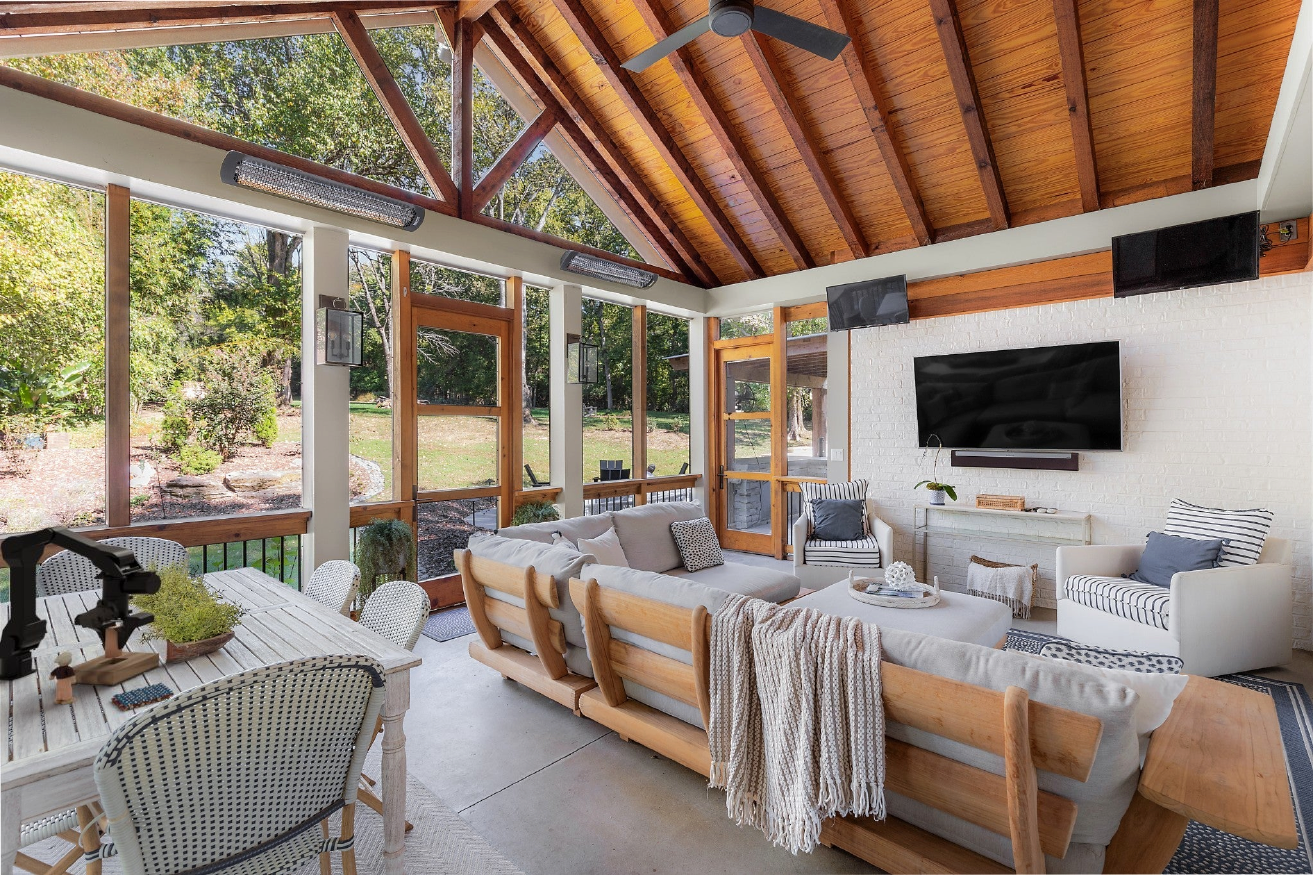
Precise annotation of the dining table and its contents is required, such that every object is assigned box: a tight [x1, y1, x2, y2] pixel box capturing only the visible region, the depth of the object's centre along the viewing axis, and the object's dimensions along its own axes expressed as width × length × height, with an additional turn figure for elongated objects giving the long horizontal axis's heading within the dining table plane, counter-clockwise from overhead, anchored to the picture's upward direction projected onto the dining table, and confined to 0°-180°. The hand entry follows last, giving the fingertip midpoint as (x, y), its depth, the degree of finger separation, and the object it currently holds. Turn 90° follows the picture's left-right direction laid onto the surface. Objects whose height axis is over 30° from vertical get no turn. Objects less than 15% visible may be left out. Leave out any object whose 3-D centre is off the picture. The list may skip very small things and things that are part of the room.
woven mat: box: [110, 682, 175, 712], centre depth 153 cm, size 10×11×2 cm
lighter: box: [165, 637, 200, 665], centre depth 180 cm, size 8×3×10 cm, turn 141°
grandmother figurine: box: [48, 651, 77, 705], centre depth 151 cm, size 8×4×13 cm, turn 92°
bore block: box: [71, 651, 160, 688], centre depth 167 cm, size 14×14×4 cm
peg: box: [104, 625, 123, 658], centre depth 167 cm, size 4×4×8 cm
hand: (113, 648), depth 167 cm, fingers closed on peg, 4 cm apart
